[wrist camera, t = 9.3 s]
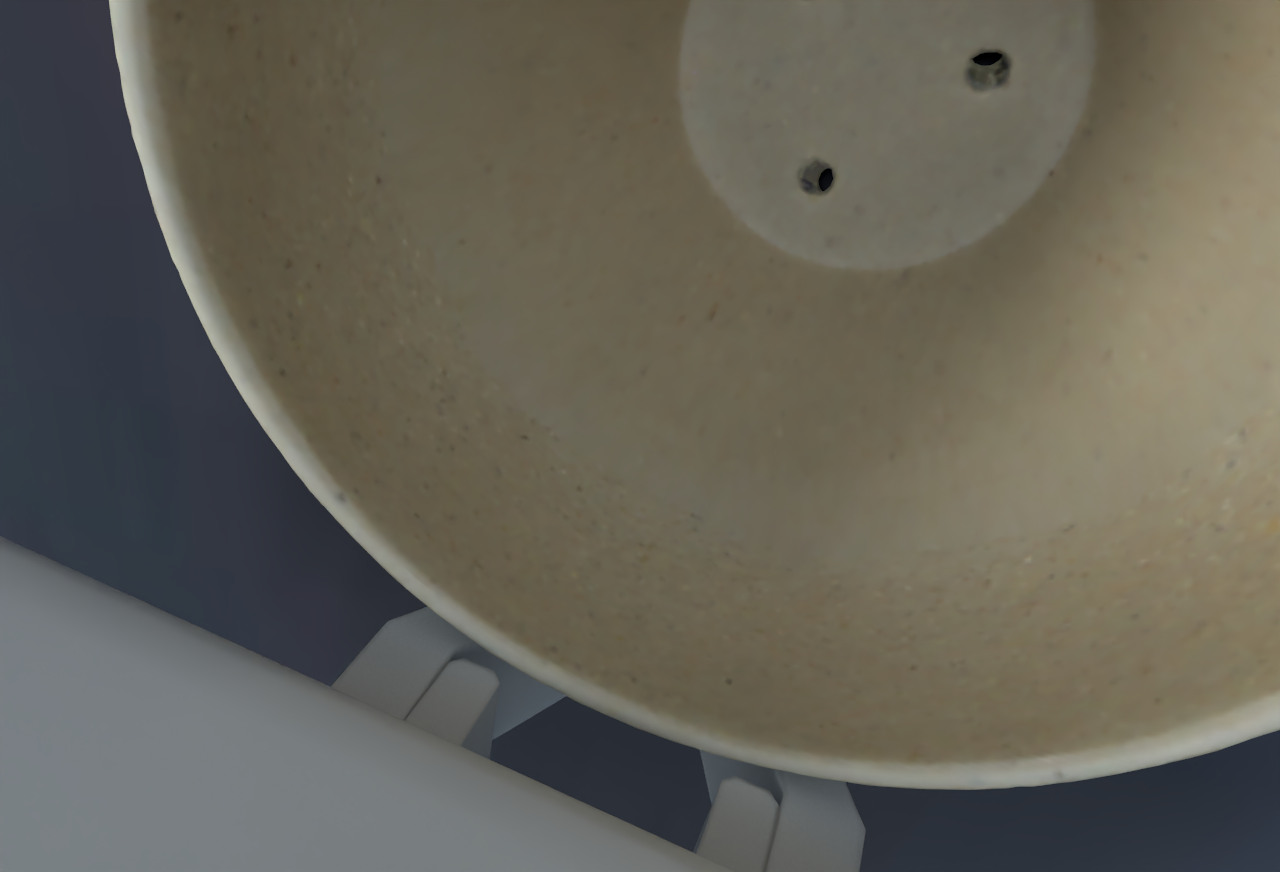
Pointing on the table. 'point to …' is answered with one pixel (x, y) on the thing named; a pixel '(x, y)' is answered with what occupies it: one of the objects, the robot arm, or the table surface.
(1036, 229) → the flower pot
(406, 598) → the table surface
